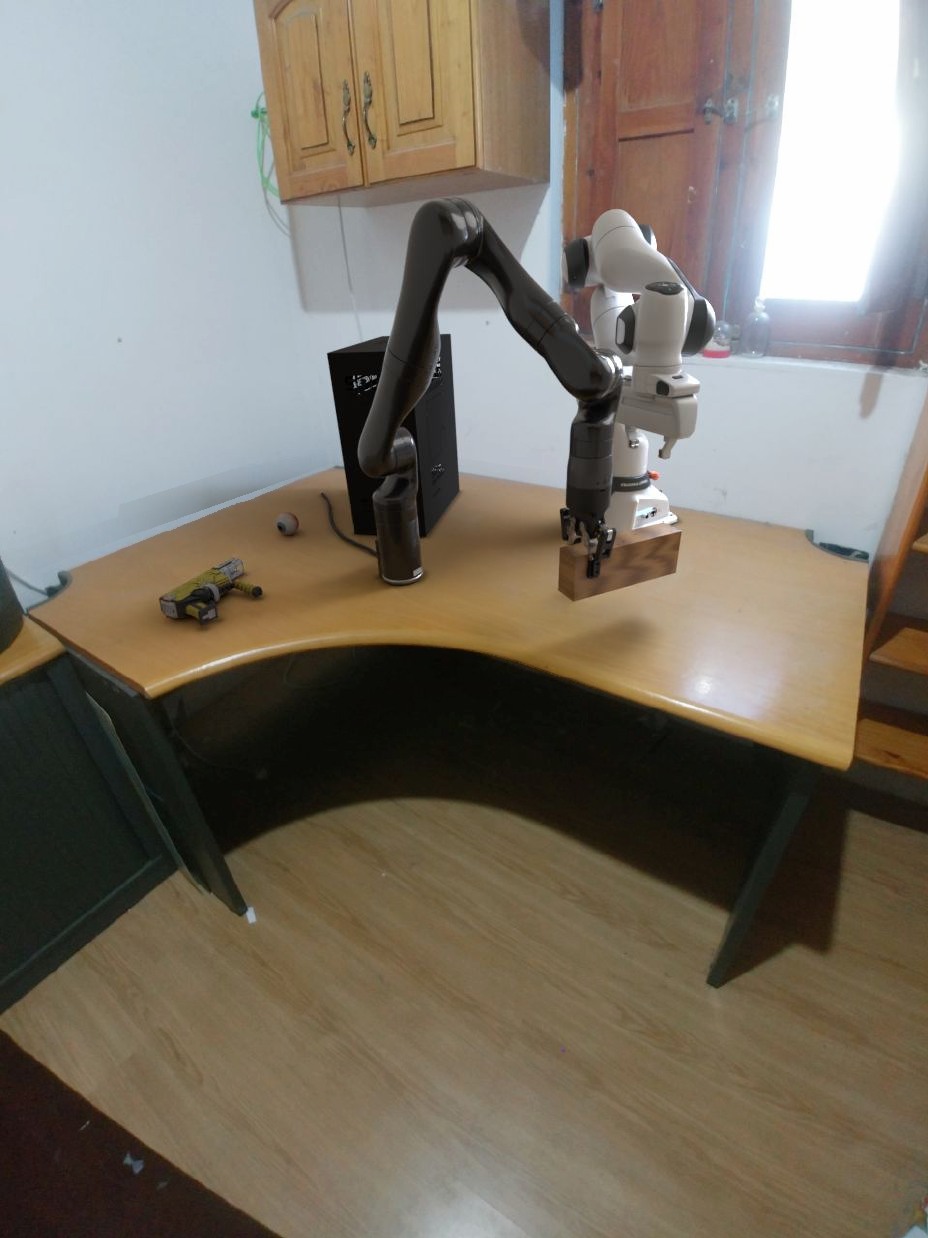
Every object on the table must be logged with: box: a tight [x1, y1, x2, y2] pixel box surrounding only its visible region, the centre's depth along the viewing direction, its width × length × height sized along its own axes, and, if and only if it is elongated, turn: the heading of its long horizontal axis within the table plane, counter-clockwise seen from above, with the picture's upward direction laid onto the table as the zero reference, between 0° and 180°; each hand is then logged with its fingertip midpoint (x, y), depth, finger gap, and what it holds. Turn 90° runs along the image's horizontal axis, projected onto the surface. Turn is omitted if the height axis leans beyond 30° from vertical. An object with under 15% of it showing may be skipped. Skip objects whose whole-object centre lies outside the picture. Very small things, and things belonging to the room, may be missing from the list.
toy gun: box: [158, 557, 263, 626], centre depth 132 cm, size 5×24×15 cm
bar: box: [557, 522, 683, 602], centre depth 112 cm, size 23×5×9 cm, turn 115°
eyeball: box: [275, 511, 300, 536], centre depth 163 cm, size 6×6×6 cm
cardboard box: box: [326, 333, 460, 538], centre depth 165 cm, size 38×20×45 cm, turn 167°
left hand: (583, 571), depth 109 cm, fingers closed on bar, 5 cm apart
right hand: (647, 453), depth 121 cm, fingers open, 8 cm apart
